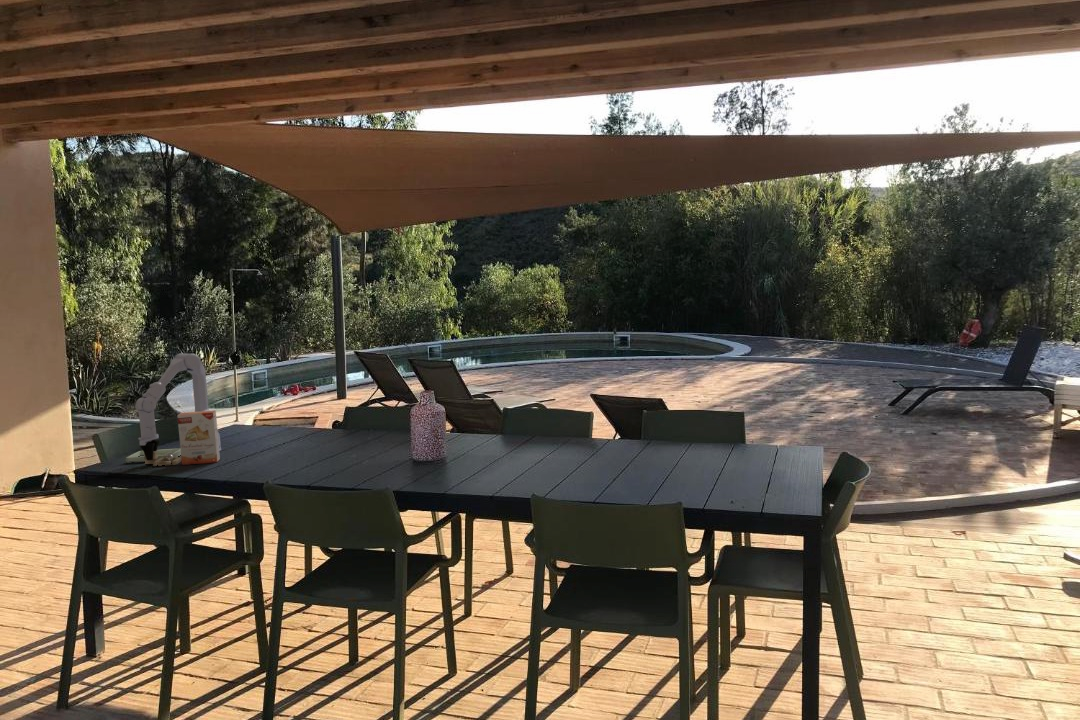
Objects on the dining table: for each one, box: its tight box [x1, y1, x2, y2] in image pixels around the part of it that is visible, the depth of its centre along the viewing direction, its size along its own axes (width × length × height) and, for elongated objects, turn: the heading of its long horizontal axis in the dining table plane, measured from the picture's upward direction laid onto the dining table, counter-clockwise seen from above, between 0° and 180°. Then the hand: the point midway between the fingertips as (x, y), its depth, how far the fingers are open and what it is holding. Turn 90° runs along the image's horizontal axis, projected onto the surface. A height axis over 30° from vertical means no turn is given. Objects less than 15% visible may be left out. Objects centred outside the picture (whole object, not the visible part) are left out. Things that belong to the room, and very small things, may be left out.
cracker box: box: [177, 410, 221, 466], centre depth 358 cm, size 14×6×21 cm, turn 99°
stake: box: [166, 451, 173, 463], centre depth 360 cm, size 2×4×5 cm, turn 3°
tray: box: [124, 447, 181, 463], centre depth 372 cm, size 19×14×2 cm
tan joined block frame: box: [144, 451, 182, 467], centre depth 360 cm, size 14×9×5 cm, turn 92°
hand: (151, 459), depth 360 cm, fingers closed on tan joined block frame, 2 cm apart
